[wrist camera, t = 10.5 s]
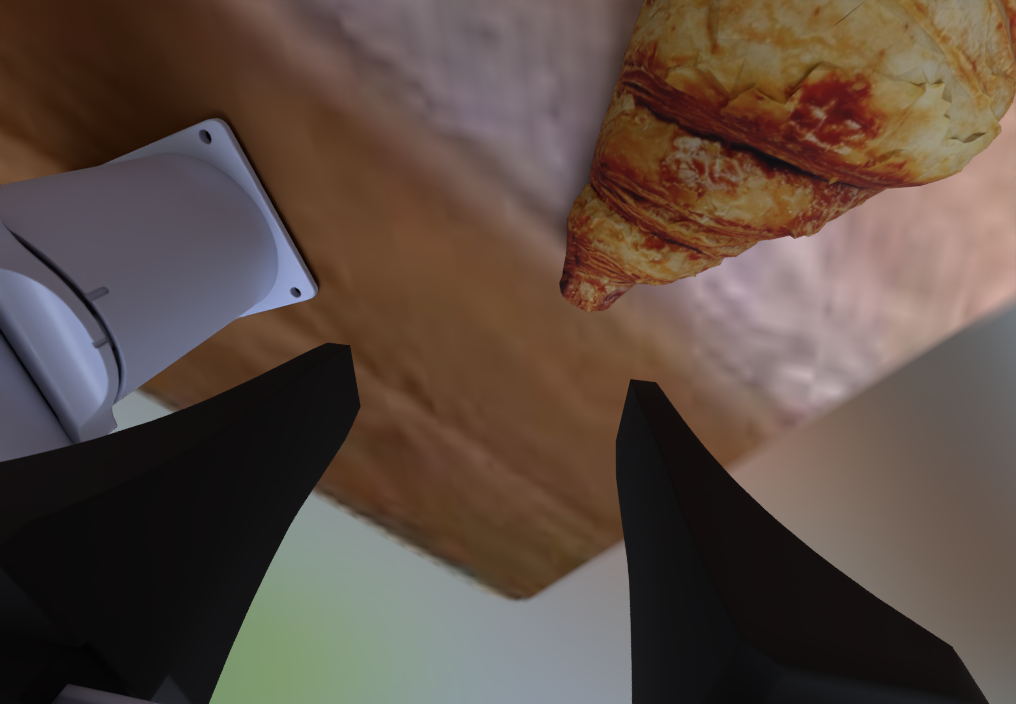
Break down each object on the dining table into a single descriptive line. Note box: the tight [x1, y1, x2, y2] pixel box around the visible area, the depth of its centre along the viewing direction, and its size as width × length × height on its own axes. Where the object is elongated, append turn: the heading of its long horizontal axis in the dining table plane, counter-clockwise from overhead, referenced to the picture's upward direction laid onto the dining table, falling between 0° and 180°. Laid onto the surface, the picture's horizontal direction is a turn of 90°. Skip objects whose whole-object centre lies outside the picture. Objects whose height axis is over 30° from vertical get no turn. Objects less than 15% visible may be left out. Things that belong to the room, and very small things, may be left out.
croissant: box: [559, 0, 1016, 312], centre depth 12 cm, size 21×10×8 cm
